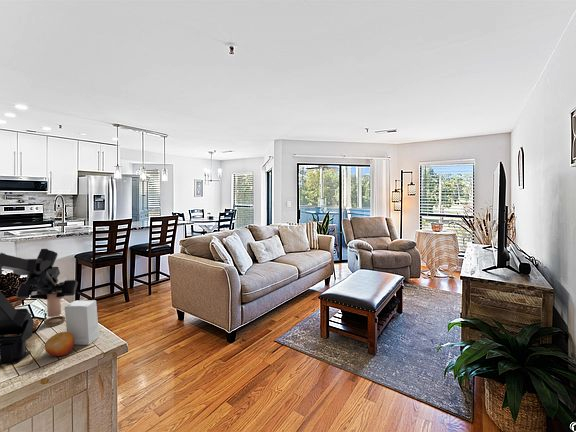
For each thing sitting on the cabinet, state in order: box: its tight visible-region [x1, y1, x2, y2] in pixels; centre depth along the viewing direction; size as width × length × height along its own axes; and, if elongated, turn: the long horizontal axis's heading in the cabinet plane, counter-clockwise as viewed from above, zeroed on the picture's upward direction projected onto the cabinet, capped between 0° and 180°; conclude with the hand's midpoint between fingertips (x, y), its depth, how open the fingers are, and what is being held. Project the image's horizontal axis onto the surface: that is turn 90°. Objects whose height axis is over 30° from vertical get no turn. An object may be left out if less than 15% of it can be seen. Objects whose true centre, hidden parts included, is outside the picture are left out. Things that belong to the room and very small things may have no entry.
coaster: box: [43, 315, 66, 327], centre depth 123 cm, size 7×7×1 cm
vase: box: [46, 281, 62, 318], centre depth 122 cm, size 4×4×14 cm
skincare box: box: [64, 299, 100, 346], centre depth 108 cm, size 8×6×15 cm
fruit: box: [44, 331, 74, 357], centre depth 101 cm, size 8×8×8 cm
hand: (55, 298), depth 123 cm, fingers closed on vase, 4 cm apart
